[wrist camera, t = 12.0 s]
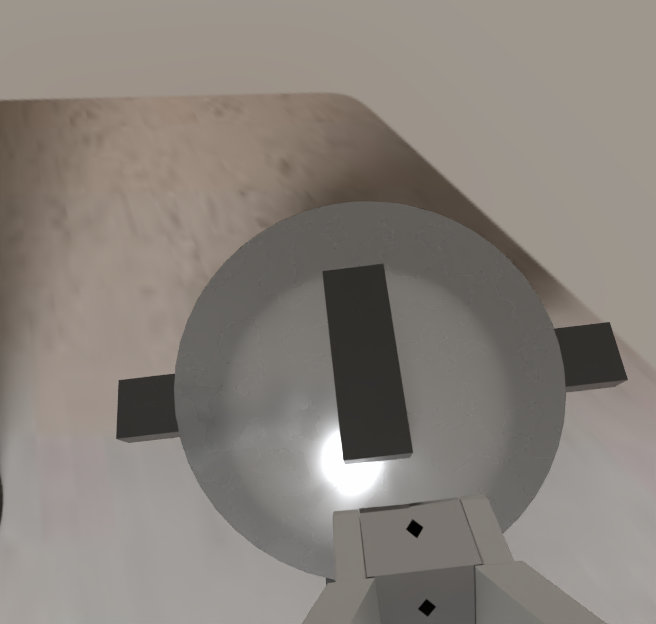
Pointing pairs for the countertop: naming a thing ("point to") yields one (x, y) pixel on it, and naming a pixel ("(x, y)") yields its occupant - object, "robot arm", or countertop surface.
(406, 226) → the cooker lid
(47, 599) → the countertop surface
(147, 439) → the cooker pot
